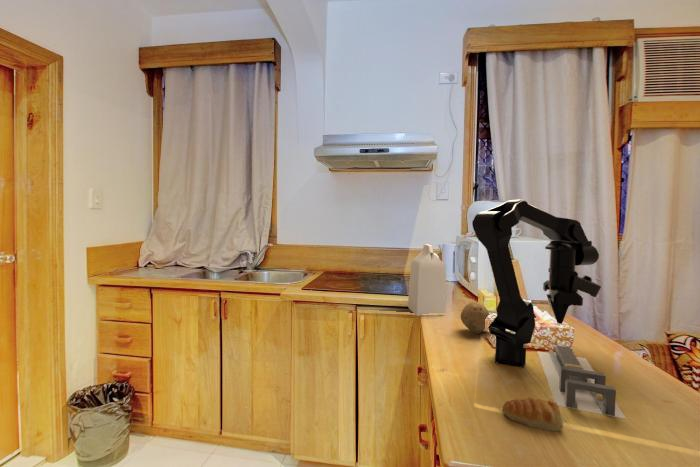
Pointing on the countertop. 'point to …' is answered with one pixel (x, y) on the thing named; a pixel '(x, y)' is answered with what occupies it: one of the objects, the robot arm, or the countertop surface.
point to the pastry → (534, 413)
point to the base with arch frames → (579, 387)
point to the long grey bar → (568, 361)
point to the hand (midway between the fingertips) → (559, 323)
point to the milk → (427, 283)
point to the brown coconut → (474, 316)
